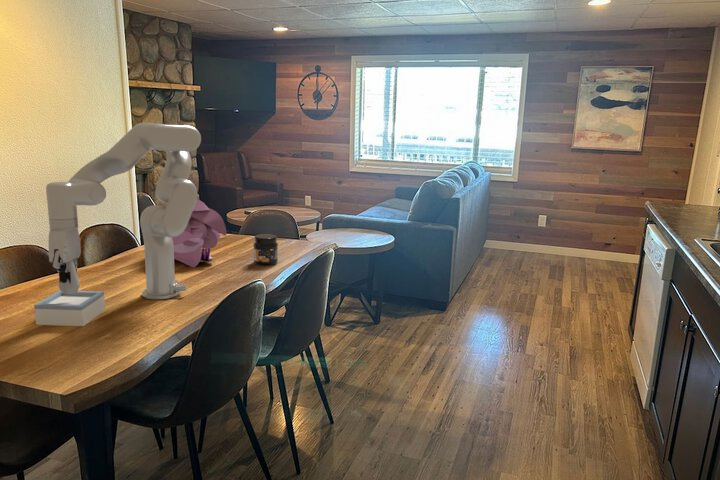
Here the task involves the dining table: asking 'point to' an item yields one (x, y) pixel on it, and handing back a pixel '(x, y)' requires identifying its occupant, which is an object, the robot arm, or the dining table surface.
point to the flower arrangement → (199, 236)
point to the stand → (69, 308)
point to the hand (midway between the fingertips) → (68, 282)
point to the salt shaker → (74, 286)
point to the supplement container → (265, 249)
